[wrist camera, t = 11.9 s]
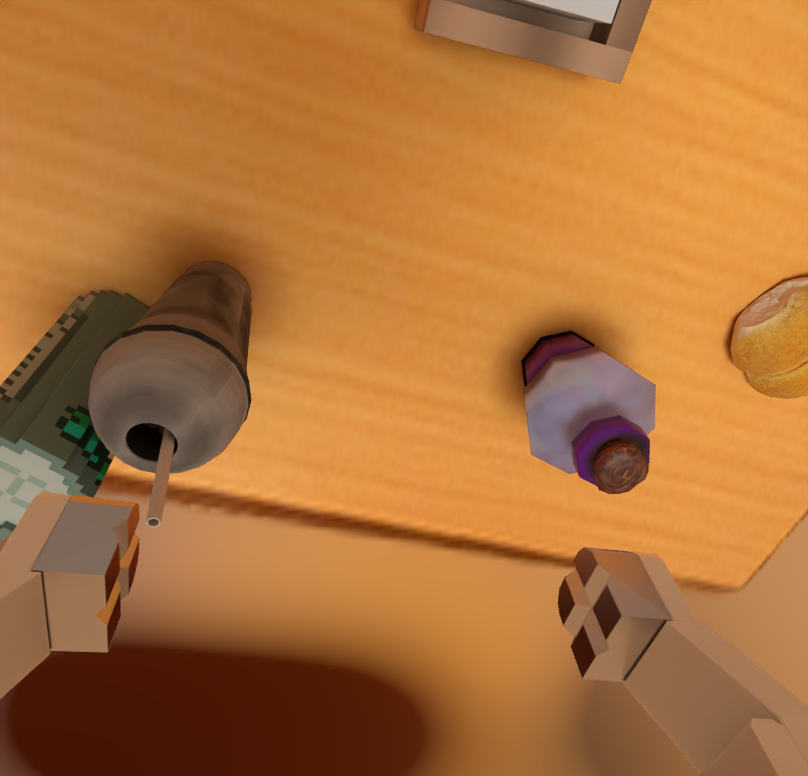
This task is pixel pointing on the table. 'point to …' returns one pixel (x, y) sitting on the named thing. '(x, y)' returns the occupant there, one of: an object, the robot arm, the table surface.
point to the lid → (575, 8)
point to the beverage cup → (177, 378)
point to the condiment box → (540, 33)
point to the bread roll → (775, 341)
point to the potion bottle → (588, 412)
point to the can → (58, 408)
